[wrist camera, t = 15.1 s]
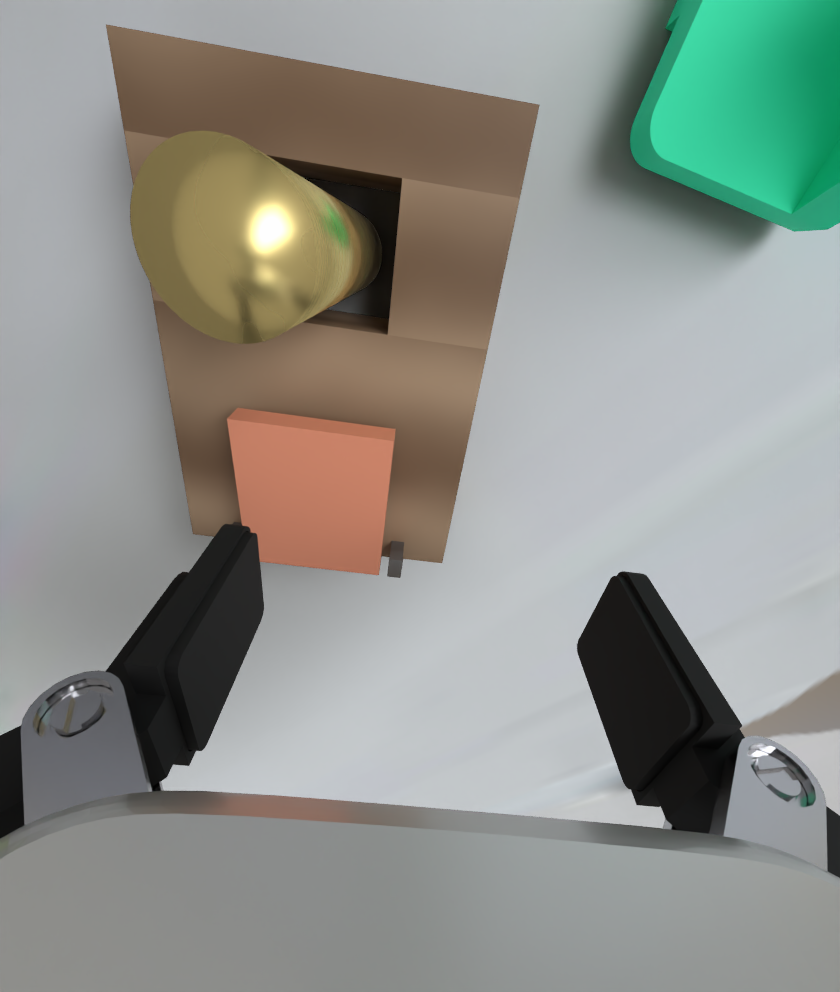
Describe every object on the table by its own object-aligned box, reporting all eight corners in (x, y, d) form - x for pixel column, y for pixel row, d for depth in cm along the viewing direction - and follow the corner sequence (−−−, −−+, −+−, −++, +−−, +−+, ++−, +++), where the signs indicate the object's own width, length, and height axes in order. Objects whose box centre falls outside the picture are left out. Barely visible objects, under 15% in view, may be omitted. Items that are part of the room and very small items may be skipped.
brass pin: (310, 202, 16) (110, 112, 6) (385, 214, 17) (317, 150, 6) (309, 286, 18) (149, 331, 8) (378, 296, 18) (315, 355, 8)
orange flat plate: (237, 407, 16) (227, 418, 15) (395, 429, 16) (393, 441, 15) (254, 545, 20) (247, 560, 19) (380, 560, 20) (378, 575, 19)
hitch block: (181, 78, 15) (67, -4, 10) (513, 138, 15) (552, 88, 11) (227, 492, 23) (177, 552, 18) (439, 518, 24) (443, 582, 19)
